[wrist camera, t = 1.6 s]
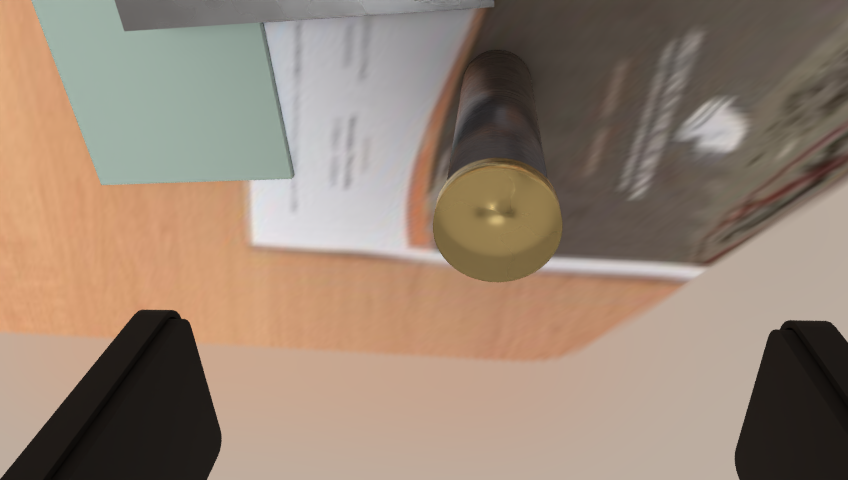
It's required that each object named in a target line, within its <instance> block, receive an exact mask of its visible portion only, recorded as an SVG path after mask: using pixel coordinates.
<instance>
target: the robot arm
mask: <svg viewBox="0 0 848 480" xmlns="http://www.w3.org/2000/svg"><path fill="white" fill-rule="evenodd" d="M220 447H221V431H220V427H219V424H218V420H217V416H216V413H215V409H214V406H213V403H212V399H211V395H210V392H209V388H208V385H207V382H206V378H205V374H204V371H203V367H202V364H201V360H200V357H199V353H198V350H197V346H196V342H195V339H194V335H193V332H192V328H191V325H190V323H189V322H188V320H186V319H181V317H180V315H179V314H178V313H177V311H174V310H140V311H138V312H137V313H136V314H135V315H134V316H133V317H132V318H131V319H130V321H129V322H128V323H127V324H126V326H125V327H124V328H123V329H122V330H121V332H120V333H119V334H118V335H117V337H116V338H115V339H114V340H113V341H112V343H111V344H110V345H109V346H108V348H107V349H106V350H105V351H104V353H103V354H102V355H101V356H100V357H99V359H98V360H97V361H96V362H95V364H94V365H93V366H92V367H91V368H90V370H89V371H88V372H87V373H86V375H85V376H84V377H83V378H82V380H81V381H80V382H79V383H78V384H77V386H76V387H75V388H74V389H73V391H72V392H71V393H70V394H69V395H68V397H67V398H66V399H65V400H64V402H63V403H62V404H61V405H60V407H59V408H58V409H57V410H56V411H55V413H54V414H53V415H52V416H51V418H50V419H49V420H48V421H47V423H46V424H45V425H44V426H43V427H42V429H41V430H40V431H39V432H38V434H37V435H36V436H35V437H34V439H33V440H32V441H31V442H30V443H29V445H28V446H27V447H26V448H25V450H24V451H23V452H22V453H21V454H20V456H19V457H18V458H17V459H16V461H15V462H14V463H13V464H12V466H11V467H10V468H9V469H8V470H7V472H6V473H5V474H4V475H3V477H2V478H1V479H0V480H207V478H208V476H209V474H210V472H211V470H212V467H213V465H214V463H215V461H216V459H217V457H218V454H219V452H220ZM735 466H736V471H737V474H738V476H739V479H740V480H848V342H847V341H846V340H845V338H844V337H843V336H842V335H841V333H840V332H839V331H838V330H837V328H836V327H835V326H834V325H832V323H831V322H827V321H794V320H793V321H792V320H790V321H786V322H784V324H783V325H782V326H781V328H780V330H773V331H771V333H770V334H769V337H768V340H767V343H766V347H765V350H764V354H763V357H762V360H761V364H760V368H759V371H758V374H757V378H756V381H755V385H754V388H753V392H752V395H751V399H750V402H749V405H748V409H747V412H746V416H745V419H744V423H743V426H742V430H741V433H740V436H739V440H738V443H737V447H736V451H735Z"/></svg>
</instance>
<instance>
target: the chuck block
mask: <svg viewBox="0 0 848 480" xmlns="http://www.w3.org/2000/svg"><path fill="white" fill-rule="evenodd" d="M115 3H116V7H117V10H118V13H119V16H120V19H121V22H122V26H123V29H124V31H139V30H154V29H169V28H185V27H200V26H215V25H230V24H245V23H260V22H275V21H290V20H305V19H320V18H335V17H350V16H365V15H380V14H395V13H411V12H426V11H441V10H456V9H471V8H486V7H494V0H115Z"/></svg>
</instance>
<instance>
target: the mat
mask: <svg viewBox="0 0 848 480" xmlns="http://www.w3.org/2000/svg"><path fill="white" fill-rule="evenodd" d="M31 1H32V3H33V6H34V8H35V11H36V14H37V16H38V19H39V22H40V24H41V27H42V30H43V32H44V35H45V37H46V40H47V43H48V45H49V48H50V51H51V53H52V56H53V59H54V61H55V64H56V66H57V69H58V72H59V74H60V77H61V80H62V82H63V85H64V88H65V90H66V93H67V95H68V98H69V101H70V103H71V106H72V109H73V111H74V114H75V117H76V119H77V122H78V124H79V127H80V130H81V132H82V135H83V138H84V140H85V143H86V146H87V148H88V151H89V153H90V156H91V159H92V161H93V164H94V167H95V169H96V172H97V175H98V177H99V180H100V182H101V185H116V184H146V183H176V182H206V181H236V180H266V179H292V177H293V176H294V173H293V168H292V163H291V158H290V153H289V148H288V143H287V139H286V134H285V129H284V124H283V119H282V114H281V109H280V104H279V100H278V95H277V90H276V85H275V80H274V75H273V70H272V65H271V60H270V56H269V51H268V46H267V41H266V36H265V31H264V26H263V22H260V23H245V24H230V25H215V26H200V27H185V28H169V29H154V30H139V31H124V29H123V26H122V22H121V19H120V16H119V13H118V10H117V7H116V3H115V0H31Z"/></svg>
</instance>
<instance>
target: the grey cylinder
mask: <svg viewBox="0 0 848 480" xmlns="http://www.w3.org/2000/svg"><path fill="white" fill-rule="evenodd" d="M433 233H434V239H435V242H436V245H437V247H438V249H439V251H440V253H441V254H442V256H443V257H444V258H445V259H446V261H447V262H448V263H449V264H450V265H452V266H453V267H454V268H455V269H457V270H458V271H460V272H461V273H463V274H465V275H467V276H469V277H472V278H474V279H478V280H482V281H488V282H507V281H513V280H517V279H520V278H523V277H526V276H528V275H530V274H532V273H534V272H536V271H537V270H538V269H540V268H541V267H542V266H544V265H545V264H546V263H547V262H548V261H549V260H550V258H551V257H552V256H553V254H554V253H555V251H556V249H557V247H558V245H559V243H560V239H561V236H562V217H561V212H560V206H559V201H558V197H557V195H556V192H555V190H554V188H553V186H552V185H551V183H550V182H549V181H548V179H547V174H546V168H545V162H544V156H543V149H542V143H541V137H540V131H539V125H538V119H537V113H536V107H535V101H534V95H533V89H532V82H531V77H530V73H529V70H528V68H527V66H526V65H525V63H524V62H523V61H522V60H521V59H520V58H519V57H518V56H516V55H514V54H513V53H510V52H507V51H502V50H493V51H488V52H485V53H483V54H481V55H479V56H478V57H476V58H475V59H474V60H473V61H472V62H471V63H470V64H469V66H468V67H467V69H466V71H465V73H464V77H463V82H462V89H461V95H460V102H459V108H458V114H457V121H456V127H455V134H454V140H453V147H452V153H451V159H450V166H449V172H448V179H447V181H446V183H445V184H444V186H443V187H442V189H441V191H440V193H439V195H438V199H437V202H436V208H435V213H434V220H433Z"/></svg>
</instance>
